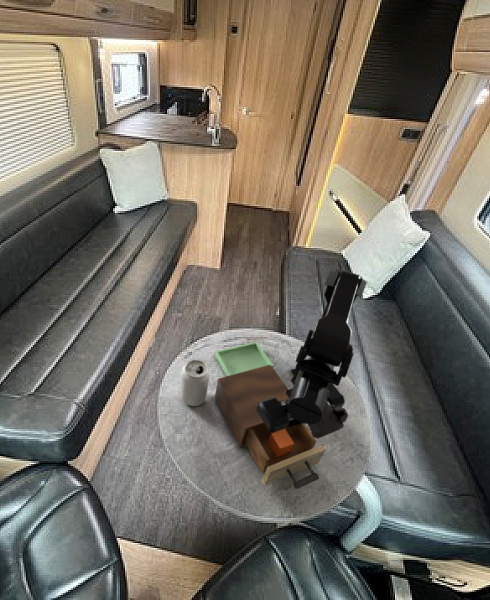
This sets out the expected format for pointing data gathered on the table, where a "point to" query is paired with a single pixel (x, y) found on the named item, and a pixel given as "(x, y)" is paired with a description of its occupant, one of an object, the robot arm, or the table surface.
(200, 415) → the table surface
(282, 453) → the cube
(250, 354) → the tray
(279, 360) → the table surface
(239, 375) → the cabinet
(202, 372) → the can
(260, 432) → the drawer
